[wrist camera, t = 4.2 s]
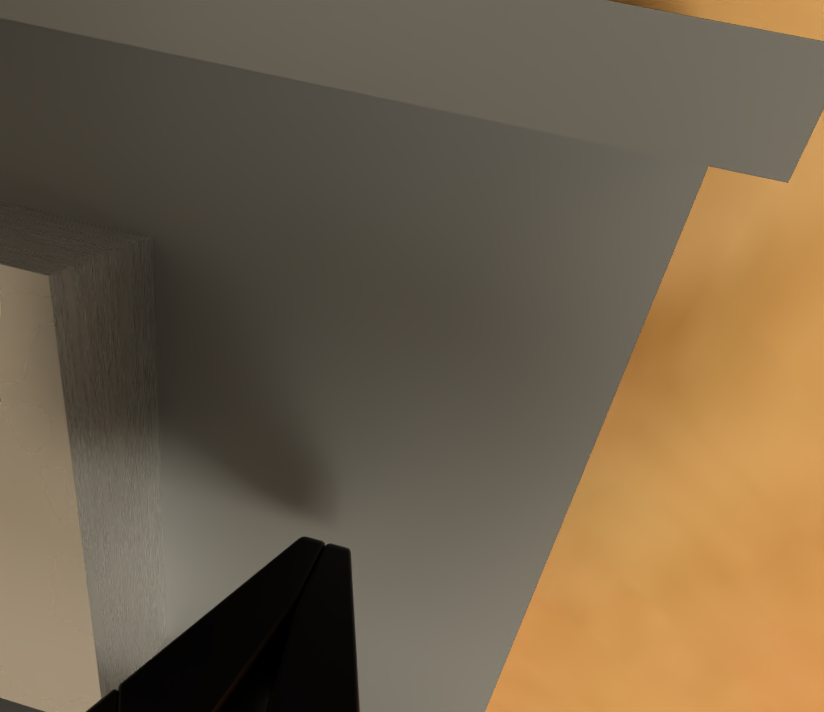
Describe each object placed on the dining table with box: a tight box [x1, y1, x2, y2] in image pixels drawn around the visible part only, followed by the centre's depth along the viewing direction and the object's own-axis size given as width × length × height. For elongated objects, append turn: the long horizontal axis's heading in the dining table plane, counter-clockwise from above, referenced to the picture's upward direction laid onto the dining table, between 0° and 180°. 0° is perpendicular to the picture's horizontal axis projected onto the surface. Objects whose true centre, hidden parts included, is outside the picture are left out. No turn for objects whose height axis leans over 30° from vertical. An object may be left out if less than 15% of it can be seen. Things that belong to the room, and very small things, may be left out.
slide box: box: [0, 0, 824, 712], centre depth 10 cm, size 18×16×3 cm
